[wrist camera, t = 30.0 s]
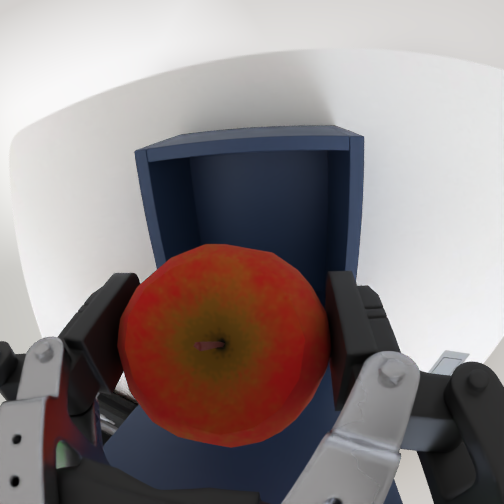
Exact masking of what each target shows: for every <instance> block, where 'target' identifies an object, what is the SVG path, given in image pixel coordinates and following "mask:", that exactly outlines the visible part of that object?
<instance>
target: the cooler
mask: <svg viewBox="0 0 504 504" xmlns="http://www.w3.org/2000/svg"><path fill="white" fill-rule="evenodd" d="M134 153H135V159H136V166H137V172H138V178H139V184H140V190H141V195H142V200H143V206H144V211H145V216H146V221H147V226H148V231H149V235H150V240H151V244H152V249H153V253H154V258H155V262H156V266H157V269H159V268H160V267H161V266H162V265H163V264H164V263H166V262H167V261H168V260H169V259H170V258H171V257H174V256H176V255H179V254H182V253H184V252H187V251H189V250H192V249H194V248H197V247H199V246H202V245H205V244H228V245H233V246H239V247H244V248H250V249H256V250H261V251H267V252H272V253H274V254H275V255H277V256H278V257H280V258H281V259H283V260H284V261H286V262H287V263H289V264H290V265H291V266H293V267H294V268H296V269H297V270H298V271H299V272H300V273H301V274H302V275H303V276H304V278H305V279H306V280H307V281H308V282H309V284H310V285H311V286H312V287H313V289H314V291H315V293H316V295H317V296H318V298H319V300H320V302H321V304H322V305H323V307H324V309H325V299H326V284H327V273H328V271H350V270H351V271H352V273H353V276H354V278H355V281H356V275H357V266H358V256H359V245H360V233H361V219H362V203H363V179H364V136H361V135H359V134H356V133H354V132H351V131H348V130H346V129H343V128H340V127H337V126H274V127H255V128H240V129H227V130H217V131H207V132H198V133H189V134H182V135H178V136H175V137H172V138H169V139H166V140H163V141H160V142H158V143H155V144H152V145H149V146H146V147H144V148H141V149H138V150H136V151H135V152H134Z"/></svg>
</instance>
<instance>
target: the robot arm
mask: <svg viewBox="0 0 504 504" xmlns="http://www.w3.org/2000/svg"><path fill="white" fill-rule="evenodd" d="M139 285H140V282H139V279H138V277H137V275H136V274H135V273H114V274H113V275H112V276H111V277H110V279H109V280H108V281H107V282H106V283H105V285H104V286H103V287H101V288H100V289H98V290H97V291H96V292H94V293H93V294H91V296H90V297H89V298H88V299H87V300H86V302H85V303H84V305H82V307H81V308H80V309H79V310H78V313H76V314H75V315H74V317H73V318H72V319H71V320H70V322H69V323H68V324H67V325H66V327H65V328H64V329H63V331H62V332H61V333H60V335H59V336H58V337H46V338H43V339H41V340H39V341H37V342H36V343H34V344H33V345H32V346H31V347H30V348H29V350H28V351H27V353H26V354H14V352H13V350H12V349H11V347H10V346H9V344H8V343H7V342H4V341H1V342H0V393H1V394H2V396H3V397H4V398H5V399H6V401H5V402H3V403H2V404H1V406H0V504H271V503H267V502H264V501H261V497H260V492H255V491H239V490H227V489H218V488H210V487H208V488H195V489H173V490H160V489H156V488H153V487H151V486H149V485H147V484H145V483H143V482H142V481H140V480H138V479H136V478H134V477H132V476H131V475H129V474H127V473H125V472H124V471H122V470H120V469H118V468H115V467H112V466H110V464H109V462H108V460H107V458H106V456H105V453H104V450H103V443H102V433H101V422H100V408H99V402H98V400H97V399H96V398H95V397H96V395H97V394H98V392H101V393H105V394H110V395H112V393H113V391H114V389H115V387H116V385H117V383H118V381H119V379H120V377H121V375H122V373H123V371H124V370H123V366H122V363H121V359H120V355H119V352H118V348H117V342H118V333H119V324H120V318H121V316H122V314H123V312H124V310H125V308H126V306H127V305H128V303H129V301H130V299H131V297H132V295H133V294H134V292H135V290H136V288H137V287H138V286H139ZM325 311H326V313H327V317H328V323H329V330H330V337H331V353H330V358H329V364H330V372H331V380H332V389H333V398H334V407H335V411H341V413H340V415H339V417H338V419H337V421H336V423H335V424H334V426H333V428H332V429H331V431H330V432H327V433H326V435H325V436H324V437H323V439H322V440H321V442H320V444H319V445H318V447H317V449H316V450H315V452H314V454H313V456H312V457H311V459H310V460H309V462H308V464H307V465H306V467H305V469H304V470H303V472H302V473H301V475H300V476H299V478H298V479H297V481H296V483H295V484H294V486H293V487H292V489H291V490H290V492H289V493H288V494H287V496H286V497H285V499H284V500H283V502H282V503H281V504H383V503H384V501H385V498H386V496H387V494H388V491H389V489H390V487H391V484H392V482H393V479H394V477H395V474H396V472H397V469H398V466H399V463H400V459H401V453H399V450H400V449H407V450H415V451H417V453H418V456H419V459H420V462H421V465H422V468H423V471H424V474H425V477H426V480H427V483H428V486H429V489H430V492H431V495H432V499H433V501H434V504H504V387H503V385H502V383H501V382H500V380H499V379H498V377H497V375H496V374H495V373H494V372H493V371H492V370H491V369H490V368H489V367H488V366H486V365H484V364H481V363H478V362H466V363H463V364H461V365H459V366H458V367H457V368H456V369H455V370H454V372H453V374H452V376H448V375H439V374H431V373H426V372H422V371H420V370H419V368H418V366H417V365H416V363H415V362H414V361H413V360H412V359H411V358H409V357H408V356H406V355H404V354H402V353H401V352H400V349H399V346H398V343H397V341H396V338H395V336H394V333H393V330H392V328H391V325H390V323H389V320H388V318H387V315H386V313H385V310H384V308H383V305H382V303H381V300H380V298H379V296H378V294H377V293H376V292H374V291H373V290H372V289H371V288H370V287H369V286H357V284H356V281H355V278H354V276H353V273H352V271H351V270H350V271H328V273H327V284H326V299H325Z"/></svg>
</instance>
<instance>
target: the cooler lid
mask: <svg viewBox="0 0 504 504" xmlns="http://www.w3.org/2000/svg"><path fill="white" fill-rule="evenodd" d="M340 413H341V411H335V407H334V398H333V389H332V380H331V372H330V364H329V363H328V367H327V369H326V372H325V374H324V376H323V378H322V380H321V382H320V384H319V386H318V388H317V390H316V392H315V394H314V396H313V398H312V400H311V401H310V402H309V404H308V405H307V406H306V407H305V409H304V410H303V411H302V412H301V414H300V415H299V416H298V417H297V419H296V420H295V421H293V422H292V423H291V424H290V425H289V426H287V427H286V428H285V429H284V430H283V431H281V432H280V433H278V434H276V435H274V436H272V437H270V438H268V439H266V440H264V441H262V442H258V443H253V444H248V445H243V446H238V447H232V448H230V447H224V446H219V445H213V444H208V443H203V442H198V441H194V440H189V439H185V438H181V437H177V436H176V435H174V434H172V433H170V432H169V431H167V430H165V429H164V428H162V427H160V426H159V425H157V424H155V423H154V422H152V420H151V419H150V418H149V417H148V415H147V414H146V413H145V411H144V410H143V409H142V407H141V406H140V405H138V406H137V407H136V408H135V409H134V410H133V412H132V413H131V414H130V415H129V416H128V417H127V419H126V420H125V421H124V422H123V423H122V425H121V426H120V427H119V428H118V429H117V430H116V432H115V433H114V434H113V435H112V436H111V437H110V439H109V440H108V441H107V442H106V443H105V445H104V446H103V450H104V453H105V456H106V458H107V460H108V462H109V464H110V466H112V467H115V468H118V469H120V470H122V471H124V472H125V473H127V474H129V475H131V476H132V477H134V478H136V479H138V480H140V481H142V482H143V483H145V484H147V485H149V486H151V487H153V488H156V489H160V490H173V489H195V488H208V487H210V488H218V489H227V490H239V491H255V492H260V497H261V501H264V502H267V503H271V504H281V503H282V502H283V500H284V499H285V497H286V496H287V494H288V493H289V492H290V490H291V489H292V487H293V486H294V484H295V483H296V481H297V479H298V478H299V476H300V475H301V473H302V472H303V470H304V469H305V467H306V465H307V464H308V462H309V460H310V459H311V457H312V456H313V454H314V452H315V450H316V449H317V447H318V445H319V444H320V442H321V440H322V439H323V437H324V436H325V435H326V433H327V432H330V431H331V429H332V428H333V426H334V424H335V423H336V421H337V419H338V417H339V415H340ZM383 504H403V503H402V500H401V498H400V495H399V492H398V489H397V486H396V483H395V481H394V479H393V482H392V484H391V487H390V489H389V491H388V494H387V496H386V498H385V501H384V503H383Z"/></svg>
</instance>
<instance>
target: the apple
mask: <svg viewBox="0 0 504 504" xmlns="http://www.w3.org/2000/svg"><path fill="white" fill-rule="evenodd" d="M117 348H118V352H119V355H120V359H121V363H122V366H123V370H124V374H125V377H126V380H127V384H128V387H129V390H130V392H131V394H132V395H133V396H134V398H135V399H136V401H137V402H138V403H139V405H140V406H141V407H142V409H143V410H144V411H145V413H146V414H147V415H148V417H149V418H150V419H151V420H152V422H154V423H155V424H157V425H159V426H160V427H162V428H164V429H165V430H167V431H169V432H170V433H172V434H174V435H176V436H177V437H181V438H185V439H189V440H194V441H198V442H203V443H208V444H213V445H219V446H224V447H230V448H232V447H238V446H243V445H248V444H253V443H258V442H262V441H264V440H266V439H268V438H270V437H272V436H274V435H276V434H278V433H280V432H281V431H283V430H284V429H285V428H286V427H287V426H289V425H290V424H291V423H292V422H293V421H295V420H296V419H297V417H298V416H299V415H300V414H301V412H302V411H303V410H304V409H305V407H306V406H307V405H308V404H309V402H310V401H311V400H312V398H313V396H314V394H315V392H316V390H317V388H318V386H319V384H320V382H321V380H322V378H323V376H324V374H325V372H326V369H327V367H328V363H329V358H330V353H331V337H330V330H329V323H328V317H327V313H326V311H325V309H324V307H323V305H322V304H321V302H320V300H319V298H318V296H317V295H316V293H315V291H314V289H313V287H312V286H311V285H310V284H309V282H308V281H307V280H306V279H305V278H304V276H303V275H302V274H301V273H300V272H299V271H298V270H297V269H296V268H294V267H293V266H291V265H290V264H289V263H287V262H286V261H284V260H283V259H281V258H280V257H278V256H277V255H275V254H274V253H272V252H267V251H261V250H256V249H250V248H244V247H239V246H233V245H228V244H205V245H202V246H199V247H197V248H194V249H192V250H189V251H187V252H184V253H182V254H179V255H176V256H174V257H171V258H170V259H169V260H168V261H167V262H166V263H164V264H163V265H162V266H161V267H160V268H159V269H157V270H156V271H155V272H154V273H153V274H152V275H150V276H149V277H148V278H147V279H146V280H145V281H143V282H142V283H141V284H140V285H139V286H138V287H137V288H136V290H135V292H134V294H133V295H132V297H131V299H130V301H129V303H128V305H127V306H126V308H125V310H124V312H123V314H122V316H121V318H120V324H119V333H118V342H117Z"/></svg>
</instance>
